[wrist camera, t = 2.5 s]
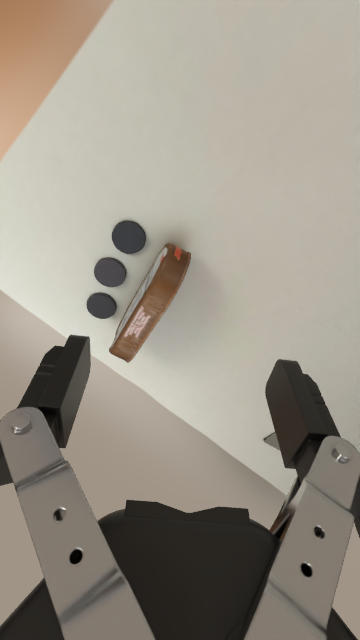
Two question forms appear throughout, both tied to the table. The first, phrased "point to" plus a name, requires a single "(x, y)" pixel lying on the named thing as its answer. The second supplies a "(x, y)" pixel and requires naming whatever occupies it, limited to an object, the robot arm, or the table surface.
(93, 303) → the dark grey disc
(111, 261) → the dark grey disc
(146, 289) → the tin
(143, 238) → the dark grey disc
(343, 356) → the table surface
